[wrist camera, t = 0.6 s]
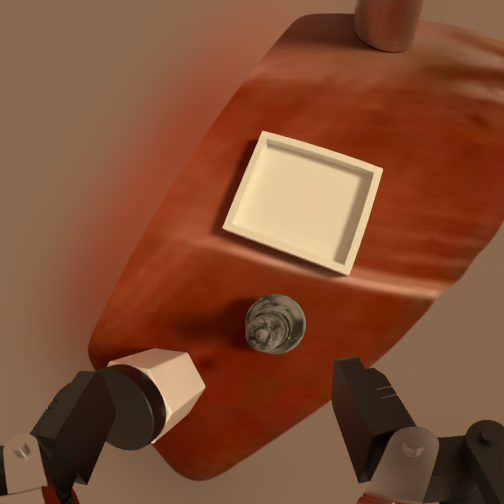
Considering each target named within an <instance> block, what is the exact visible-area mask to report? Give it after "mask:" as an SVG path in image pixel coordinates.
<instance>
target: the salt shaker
mask: <svg viewBox="0 0 504 504" xmlns="http://www.w3.org/2000/svg"><path fill="white" fill-rule="evenodd" d="M245 329H246V331H245V337H246V340H247V342H248V344H249V345H250V346H251V347H252V348H253V349H255V350H257V351H261V352H265V353H269V354H282V353H286V352H288V351H290V350H292V349H294V348H295V347H296V346H297V345H298V344H299V343H300V341H301V339H302V338H303V336H304V332H305V329H306V320H305V316H304V313H303V311H302V309H301V307H300V306H299V305H298V304H297V303H296V302H295V301H294V300H292V299H291V298H289V297H287V296H284V295H280V294H271V295H267V296H263V297H262V298H260V299H258V300H257V301H256V302H255V303H254V304H253V305H251V307H250V309H249V310H248V312H247V315H246V319H245Z"/></svg>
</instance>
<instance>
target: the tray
mask: <svg viewBox="0 0 504 504" xmlns="http://www.w3.org/2000/svg"><path fill="white" fill-rule="evenodd" d="M382 171H383V169H382V168H380V167H377V166H374V165H371V164H369V163H366V162H363V161H360V160H357V159H355V158H352V157H349V156H346V155H343V154H340V153H337V152H334V151H331V150H328V149H324V148H321V147H318V146H315V145H311V144H308V143H305V142H301V141H298V140H294V139H291V138H287V137H284V136H280V135H276V134H273V133H269V132H265V131H262V134H261V136H260V138H259V141H258V143H257V145H256V148H255V150H254V152H253V155H252V157H251V159H250V162H249V164H248V166H247V169H246V171H245V174H244V176H243V178H242V181H241V183H240V186H239V188H238V191H237V193H236V195H235V198H234V200H233V203H232V205H231V208H230V210H229V213H228V215H227V218H226V220H225V223H224V225H223V229H224V230H226V231H227V232H230V233H232V234H235V235H238V236H241V237H243V238H246V239H249V240H251V241H254V242H257V243H260V244H262V245H265V246H268V247H270V248H273V249H276V250H278V251H281V252H284V253H286V254H289V255H292V256H294V257H297V258H300V259H302V260H305V261H308V262H310V263H313V264H316V265H318V266H321V267H324V268H326V269H329V270H332V271H334V272H337V273H340V274H342V275H345V276H349V274H350V271H351V269H352V266H353V263H354V260H355V257H356V254H357V252H358V249H359V246H360V243H361V240H362V237H363V234H364V231H365V228H366V224H367V221H368V218H369V215H370V212H371V209H372V205H373V202H374V199H375V195H376V192H377V189H378V185H379V182H380V178H381V174H382Z"/></svg>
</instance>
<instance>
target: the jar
mask: <svg viewBox="0 0 504 504" xmlns="http://www.w3.org/2000/svg"><path fill="white" fill-rule="evenodd" d="M94 372H100V373H101V374H102V375H103V378H104V380H105V383H106V385H107V388H108V390H109V393H110V395H111V397H112V400H113V402H114V405H115V410H116V416H115V420H114V423H113V425H112V427H111V429H110V432H109V434H108V436H107V439H106V442H108V443H109V444H111V445H113V446H115V447H117V448H120V449H123V450H138V449H141V448H143V447H145V446H146V445H148V444H150V443H154V442H155V441H157V440H158V439H159V438H160V437H161V436H163V435H164V434H165V433H166V432H167V431H169V430H170V429H171V428H172V427H173V426H174V425H176V424H177V423H178V422H179V421H180V420H181V419H183V418H184V417H185V416H186V415H187V414H188V413H189V412H190V410H191V409H192V407H193V406H194V404H195V403H196V401H197V400H198V398H199V397H200V395H201V394H202V392H203V391H204V389H205V384H204V382H203V381H202V379H201V377H200V375H199V373H198V371H197V370H196V368H195V366H194V364H193V362H192V360H191V358H190V356H189V354H188V353H186V352H178V351H171V350H164V349H157V348H153V349H150V350H147V351H143V352H140V353H137V354H134V355H130V356H127V357H124V358H120V359H117V360H113V361H110V362H109V364H108V366H107V367H105V368H102V369H99V370H96V371H94Z"/></svg>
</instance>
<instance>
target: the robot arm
mask: <svg viewBox="0 0 504 504" xmlns="http://www.w3.org/2000/svg"><path fill="white" fill-rule="evenodd" d="M424 1H425V0H355V16H354V30H355V33H356V34H357V36H358V37H359V38H360V39H361V40H362V41H364V42H365V43H366V44H368V45H370V46H372V47H374V48H377V49H379V50H383V51H388V52H400V51H405V50H407V49H409V48H410V47H411V46H412V44H413V41H414V38H415V34H416V31H417V27H418V24H419V21H420V17H421V13H422V9H423V5H424ZM332 405H333V409H334V413H335V415H336V419H337V421H338V424H339V427H340V430H341V433H342V436H343V438H344V441H345V444H346V447H347V450H348V453H349V456H350V459H351V462H352V465H353V468H354V471H355V474H356V476H357V479H358V482H359V483H364V482H367V481H370V483H369V485H368V487H367V489H366V491H365V493H364V494H363V496H362V497H360V499H359V500H358V502H357V503H356V504H422V503H423V504H424V503H434V502H439V504H504V427H503V426H502V425H501V424H499V423H497V422H495V421H492V420H482V421H478V422H476V423H474V424H473V425H471V427H470V428H469V429H468V431H467V433H466V435H463V436H455V437H445V438H439V437H436V436H435V435H434V433H432V432H431V431H429V430H428V429H425V428H422V427H417V426H416V425H415V423H414V421H413V420H412V418H411V416H410V415H409V413H408V411H407V410H406V408H405V407H404V405H403V403H402V402H401V400H400V399H399V397H398V396H397V395H396V392H395V391H394V389H393V388H392V387H391V384H390V383H389V381H388V379H387V378H386V376H385V375H384V374H382V373H381V372H379V371H378V370H376V369H375V368H369V369H365V368H364V366H363V365H362V363H361V361H360V359H359V358H358V357H357V356H354V357H348V358H342V359H336V360H335V361H334V366H333V383H332ZM115 416H116V410H115V405H114V402H113V400H112V397H111V395H110V393H109V390H108V388H107V385H106V383H105V380H104V378H103V375H102V374H101V373H100V372H92V371H80V372H79V373H78V374H77V375H76V377H75V378H74V380H73V381H72V382H71V383H69V384H68V385H66V386H65V387H64V388H62V389H61V390H60V391H59V392H58V393H57V395H56V396H55V398H54V399H53V402H51V403H50V405H49V406H48V409H46V410H45V412H44V414H43V415H42V417H41V418H40V419H39V421H38V422H37V424H36V425H35V427H34V428H33V430H32V431H31V433H30V434H19V435H16V436H14V437H12V438H11V439H9V440H8V441H7V443H6V444H5V446H0V504H80V503H79V500H78V498H77V495H76V493H75V491H74V489H73V488H72V487H73V484H74V482H75V483H79V484H84V485H87V484H88V481H89V479H90V477H91V474H92V472H93V469H94V467H95V465H96V462H97V460H98V457H99V455H100V453H101V450H102V448H103V446H104V443H105V441H106V439H107V436H108V434H109V432H110V429H111V427H112V425H113V423H114V420H115Z"/></svg>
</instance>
